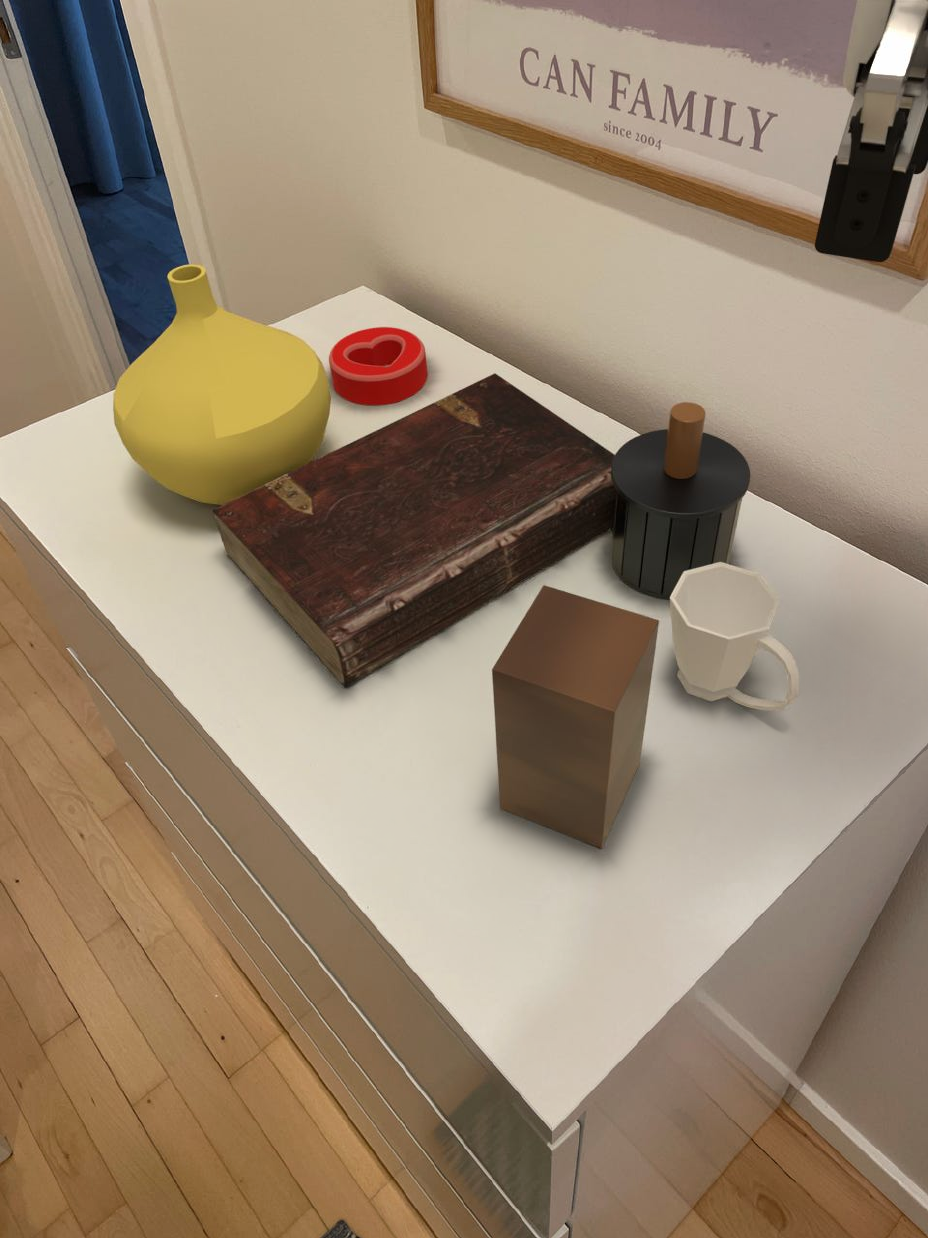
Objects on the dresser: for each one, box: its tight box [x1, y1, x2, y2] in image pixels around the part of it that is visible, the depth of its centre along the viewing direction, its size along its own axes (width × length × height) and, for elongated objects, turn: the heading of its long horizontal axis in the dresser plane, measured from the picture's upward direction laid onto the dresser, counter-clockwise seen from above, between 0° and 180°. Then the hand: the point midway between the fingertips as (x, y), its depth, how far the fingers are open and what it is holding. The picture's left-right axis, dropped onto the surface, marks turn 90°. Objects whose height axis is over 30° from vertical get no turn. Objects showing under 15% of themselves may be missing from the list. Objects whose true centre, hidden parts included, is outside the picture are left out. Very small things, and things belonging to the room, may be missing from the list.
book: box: [211, 372, 616, 688], centre depth 77 cm, size 29×19×5 cm, turn 127°
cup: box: [669, 562, 800, 712], centre depth 63 cm, size 7×10×8 cm
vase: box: [112, 263, 332, 506], centre depth 80 cm, size 18×18×19 cm
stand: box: [491, 584, 660, 849], centre depth 57 cm, size 7×7×14 cm
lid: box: [611, 401, 751, 519], centre depth 67 cm, size 10×10×6 cm
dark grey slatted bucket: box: [610, 488, 743, 600], centre depth 72 cm, size 9×9×8 cm
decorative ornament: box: [328, 326, 429, 406], centre depth 95 cm, size 10×10×3 cm
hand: (872, 208), depth 45 cm, fingers open, 9 cm apart
